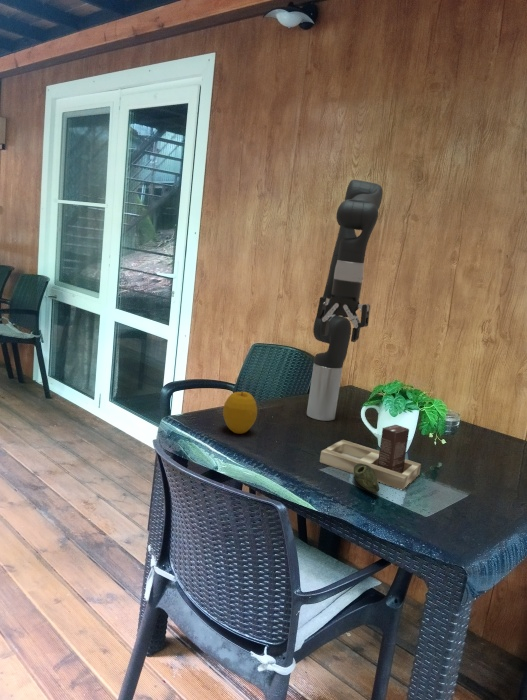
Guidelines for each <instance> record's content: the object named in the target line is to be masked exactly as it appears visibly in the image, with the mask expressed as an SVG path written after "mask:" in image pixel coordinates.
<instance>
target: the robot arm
mask: <svg viewBox="0 0 527 700" xmlns="http://www.w3.org/2000/svg"><path fill="white" fill-rule="evenodd" d="M383 193H384V192H383V187H382V186H381V185H380V184H378V183H375V182H370V181H366V180H359V179H351V180H350V181H349V183H348V185H347V188H346V192H345V196H344V201H342V202H341V203H340V204H339V206H338V208H337V211H336V217H335V218H336V222H337V224H338V226H339V229H338V233H337V238H336V241H335V246H334V248H333V253H332V257H331V261H330V265H329V270H328V276H327V279H326V283H325V286H324V291H323V294H322V296H321V297H320V298H319V300H318V306H317V311H316V315H315V316H316V317H315V319H314V321H313V322H314V323H313V329H312V331H313V336H314V339H315V340H316V341H318V342H321V343H325V344H329V345H328V347H327V350H326V351H325V352H319V353H317V354H316V353H315V354H314V355H315V356H314V360H313V367H312V374H311V380H310V386H309V387H310V388H309V394H308V401H307V409H306V416H308V417H309V418H312V419H313V420H318V421H325V422H326V421H328V422H329V421H334V420H335V419H336V412H337V406H338V400H339V395H340V386H341V381H342V373H343V367H344V362H345V360H346V358H347V355H348V350H349V344H350V342H352V343H355V342H357V341H358V340H359V338H360V333H361V329H362V328H365V327H368V326H369V321H370V320H369V319H370V310H371V305H370V304H369V303H368V304H367V303H366V304H365V303H360V296H361V290H362V285H363V284H362V283H363V279H364V267H365V266H364V265H365V259H366V258H365V257H366V250H367V246H368V242H369V239H370V237H371V234H372V233H373V230H374V228H375V226H376V224H377V221H378V219H379V209H380V207H381V204H382V200H383ZM356 231H361V232H360V234H359V235H358V236H357V234H356ZM358 310H359V312H360V313H361V314H360V318H359V315H358V313H357V311H358ZM351 324H352V325H353V327H352V325H351Z"/></svg>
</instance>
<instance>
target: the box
mask: <svg viewBox="0 0 527 700" xmlns="http://www.w3.org/2000/svg"><path fill="white" fill-rule="evenodd" d="M409 432H410V429H409V428H407V427H404V426H401V425H399V424H392V425H388V426H386V427H382V431H381V438H380V446H379V451H380V452H379V458H378V466H380V467H383V468H386V469H389V470H392V471H395V472H398V473H401V474H402V473H403V468H404V462H405V459H406V453H407V446H408V440H409V434H410V433H409Z"/></svg>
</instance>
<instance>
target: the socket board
mask: <svg viewBox="0 0 527 700" xmlns="http://www.w3.org/2000/svg"><path fill="white" fill-rule="evenodd" d="M379 452H380V450H378V449H374V448H371V447H368V446H364V445H361V444H358V443H354V442H352V441H349V440H345V439H341V440H339V441H337V442H335V443H333V444H332V445H330V446H327V448H325V449H322V450H321V451H320V457H319V463H321V464H324V465H327V466H329V467H333V468H335V469H338V470H341V471H344V472H347V473H350V474H353V475H354V467H355V466H356V465H357V464H358V463H361V464H365V465H368V466H370V467H371V468H372V469H373V470H374V472H375V474H376V477H377V481H378V483H379V482H380V483H379V484H382V483H383V485H385V484H386V485H385V486H388V485H389V486H388V487H391V486H392V487H391V488H394V487H395V488H394V489H397V488H399V489H398V490H400V489H403V490H405V489H406V488H407V487H408V486H409V485H410V484H412V482H413V481H414V480H416V479H417V478H418V477H419V476H420V473H421V468H422V463H419V462H415V461H412V460H409V459H406V458H405V462H404V468H403V473H402V474H401V473H398V472H395V471H392V470H389V469H386V468H383V467H380V466H378V458H379ZM418 475H419V476H418ZM417 476H418V477H417ZM416 477H417V478H416ZM409 483H410V484H409ZM408 484H409V485H408ZM407 485H408V486H407ZM406 486H407V487H406ZM405 487H406V488H405Z"/></svg>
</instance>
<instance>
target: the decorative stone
mask: <svg viewBox="0 0 527 700" xmlns="http://www.w3.org/2000/svg"><path fill="white" fill-rule="evenodd" d="M353 476H354V479H355V481H356V482H357V483H358V485H360V486H361V487H362V488H364V489H366V490H368V491H369V492H372V493H379V491H380V485H379V482H378V481H377V477H376V474H375V472H374V470H373V469H372V468H371V467H370V466H368V465H365V464H361V463H358V464H357V465H356V466H355V467H354V474H353Z"/></svg>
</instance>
